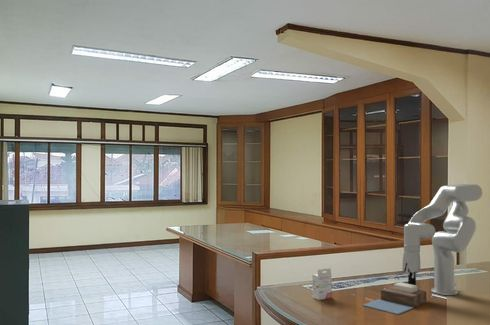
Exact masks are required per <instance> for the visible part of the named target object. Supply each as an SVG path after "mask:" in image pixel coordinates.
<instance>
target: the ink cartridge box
mask: <svg viewBox="0 0 490 325" xmlns="http://www.w3.org/2000/svg"><path fill="white" fill-rule="evenodd" d="M311 276H312V277H311V278H312V281H311V282H312V283H311V285H312V298H313V299H315V300H318V301H320V300H321V301H322V300H326V299H332V298H333V294H332V291H333V290H332V289H333V288H332V287H333V286H332V284H333V283H332V269H331V267H329V268H323V269H322V268H321V269H317V273H314V274H311Z"/></svg>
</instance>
